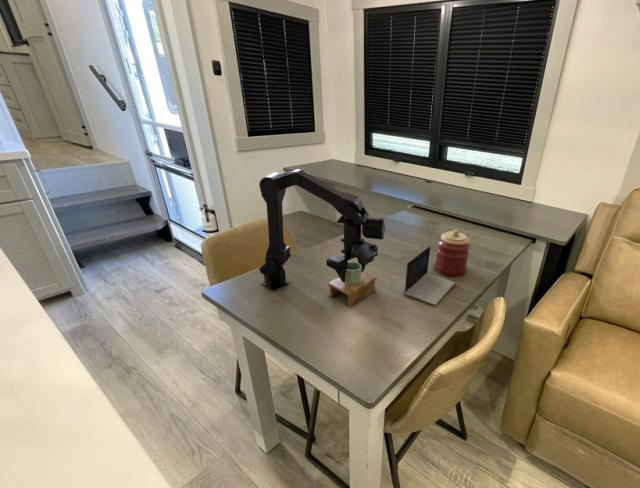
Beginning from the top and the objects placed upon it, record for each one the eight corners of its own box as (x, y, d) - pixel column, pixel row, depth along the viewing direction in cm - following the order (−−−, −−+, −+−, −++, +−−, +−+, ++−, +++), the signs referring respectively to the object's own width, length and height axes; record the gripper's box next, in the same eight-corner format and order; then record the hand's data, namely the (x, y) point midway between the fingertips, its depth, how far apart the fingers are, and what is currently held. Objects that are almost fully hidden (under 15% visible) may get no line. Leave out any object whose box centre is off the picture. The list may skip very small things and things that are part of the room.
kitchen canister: (471, 269, 139) (479, 231, 130) (453, 280, 130) (460, 239, 121) (446, 258, 146) (452, 221, 137) (428, 268, 137) (433, 228, 129)
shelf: (349, 307, 110) (349, 293, 108) (328, 296, 115) (327, 282, 112) (376, 290, 120) (376, 277, 118) (355, 280, 125) (355, 267, 123)
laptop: (435, 306, 114) (439, 274, 107) (403, 294, 119) (406, 262, 113) (455, 284, 127) (460, 254, 121) (426, 274, 133) (429, 245, 126)
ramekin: (353, 286, 111) (352, 272, 109) (339, 280, 114) (339, 266, 112) (365, 279, 116) (365, 265, 113) (352, 273, 119) (352, 260, 116)
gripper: (350, 253, 96) (351, 297, 104) (389, 234, 110) (387, 274, 117) (324, 241, 102) (326, 284, 109) (364, 225, 115) (363, 264, 123)
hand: (352, 277), depth 114 cm, fingers open, 9 cm apart
